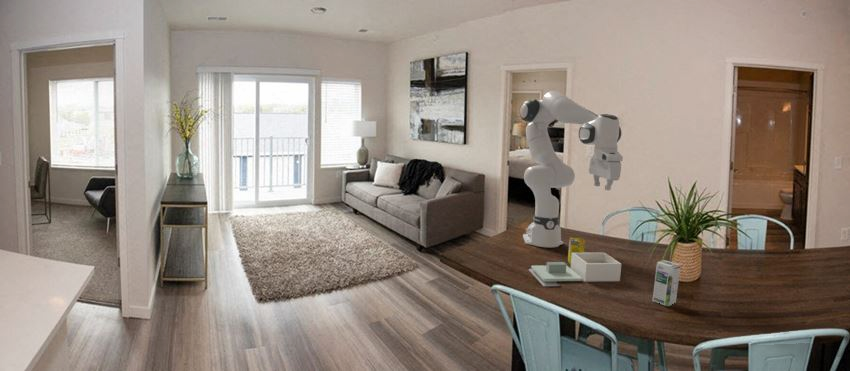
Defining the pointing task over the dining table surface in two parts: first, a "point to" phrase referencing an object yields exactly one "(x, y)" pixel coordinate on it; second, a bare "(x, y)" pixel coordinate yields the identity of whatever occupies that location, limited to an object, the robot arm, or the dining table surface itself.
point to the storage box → (595, 267)
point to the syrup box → (666, 282)
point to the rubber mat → (543, 281)
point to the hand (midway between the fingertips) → (602, 188)
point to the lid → (556, 272)
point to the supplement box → (575, 247)
